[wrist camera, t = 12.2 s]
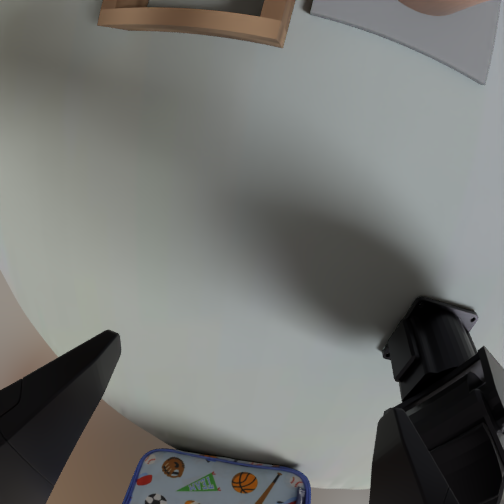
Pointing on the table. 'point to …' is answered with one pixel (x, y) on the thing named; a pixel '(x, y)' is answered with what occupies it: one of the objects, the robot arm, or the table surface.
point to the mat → (425, 30)
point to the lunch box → (213, 481)
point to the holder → (201, 20)
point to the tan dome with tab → (440, 6)
